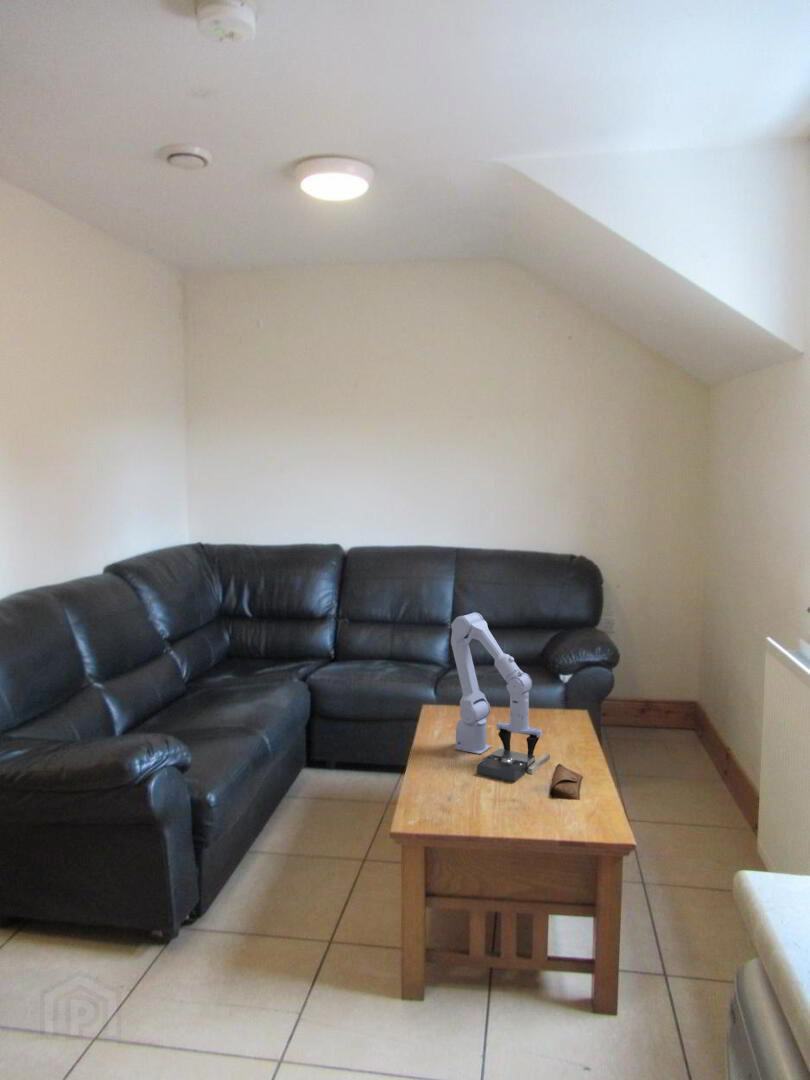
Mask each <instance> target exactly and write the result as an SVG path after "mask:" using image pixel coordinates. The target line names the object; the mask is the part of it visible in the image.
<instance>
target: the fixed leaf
mask: <svg viewBox="0 0 810 1080" xmlns="http://www.w3.org/2000/svg"><path fill="white" fill-rule="evenodd" d="M487 756H488V757H487ZM487 756H486V757H487V758H486V757H485V759H483V760H481V761H480V762H479V763H477V764H476V774H477V775H479V776H483V777H487V778H491V779H494V780H495V779H496V780H501V781H505V782H509V783H512V784H514V783H516V782H517V781H518V780H520V778H522V777H523V776H524V775H525V774H526V773H527V772H526V769H527V765H526V764H525V763H521V762H516V761H514V762H513V763H512V764H511V763H506V762H501V759H500V758H497V757H493V756H489V755H487Z"/></svg>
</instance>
